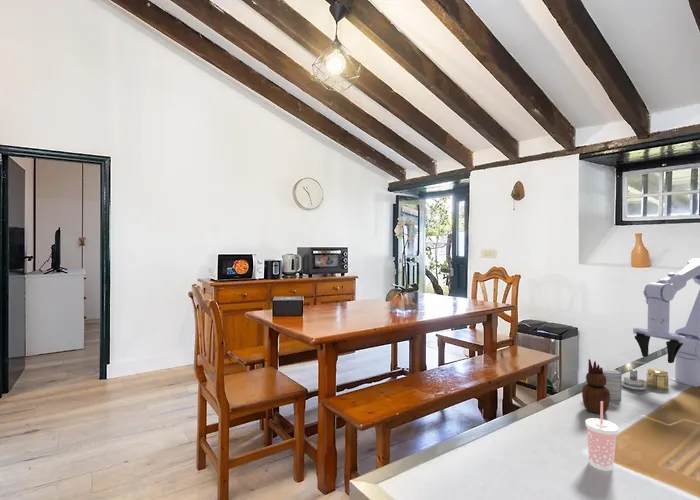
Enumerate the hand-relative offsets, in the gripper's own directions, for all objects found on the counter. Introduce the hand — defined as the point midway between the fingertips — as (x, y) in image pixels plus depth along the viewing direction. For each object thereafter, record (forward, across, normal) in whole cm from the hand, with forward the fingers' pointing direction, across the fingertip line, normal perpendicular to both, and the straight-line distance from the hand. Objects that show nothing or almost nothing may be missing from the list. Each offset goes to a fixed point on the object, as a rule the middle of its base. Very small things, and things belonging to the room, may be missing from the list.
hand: (657, 359), depth 133 cm
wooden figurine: (+10, +3, -37) cm, 38 cm away
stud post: (+9, -3, -8) cm, 12 cm away
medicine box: (+10, -2, -25) cm, 27 cm away
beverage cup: (+10, +21, -63) cm, 67 cm away
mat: (+9, -3, -6) cm, 11 cm away
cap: (+9, 0, 0) cm, 9 cm away
